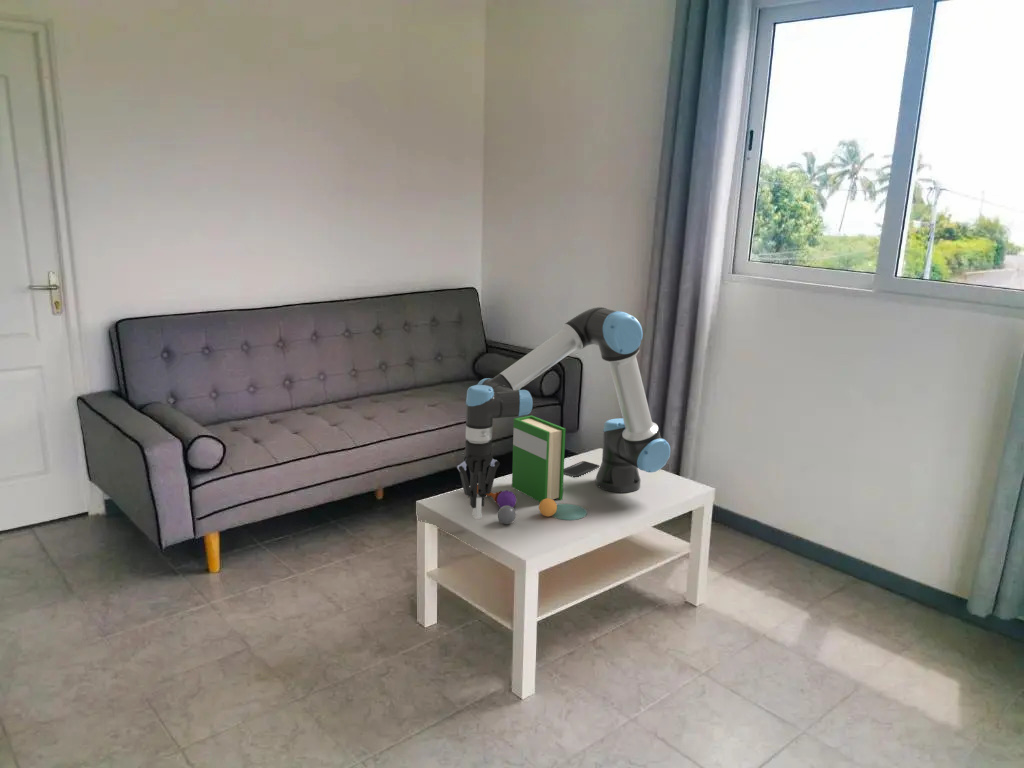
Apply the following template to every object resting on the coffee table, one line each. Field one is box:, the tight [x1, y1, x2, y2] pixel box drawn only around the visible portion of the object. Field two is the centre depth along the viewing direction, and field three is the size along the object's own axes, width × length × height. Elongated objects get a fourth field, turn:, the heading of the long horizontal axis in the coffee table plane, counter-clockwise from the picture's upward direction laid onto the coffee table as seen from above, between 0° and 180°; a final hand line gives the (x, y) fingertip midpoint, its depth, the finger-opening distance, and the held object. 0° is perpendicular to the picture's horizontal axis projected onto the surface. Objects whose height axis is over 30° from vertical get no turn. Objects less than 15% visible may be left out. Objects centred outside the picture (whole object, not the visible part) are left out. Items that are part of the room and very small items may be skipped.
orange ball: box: [538, 498, 558, 518], centre depth 229 cm, size 6×6×6 cm
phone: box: [564, 460, 601, 478], centre depth 270 cm, size 8×1×15 cm
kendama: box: [477, 483, 517, 509], centre depth 240 cm, size 6×6×20 cm
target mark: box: [551, 503, 588, 521], centre depth 233 cm, size 12×12×1 cm
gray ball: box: [497, 506, 517, 525], centre depth 223 cm, size 6×6×6 cm
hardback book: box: [511, 415, 567, 503], centre depth 245 cm, size 18×7×24 cm, turn 36°
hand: (476, 517), depth 219 cm, fingers closed
